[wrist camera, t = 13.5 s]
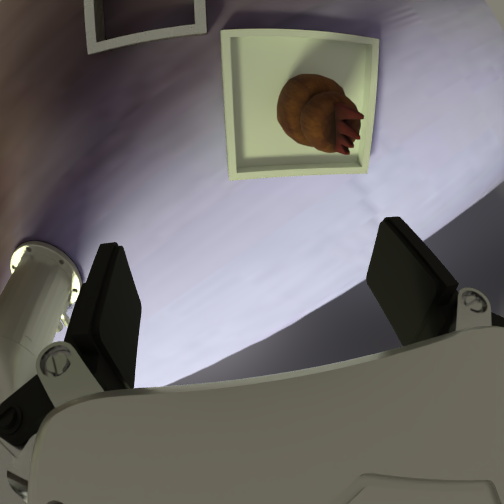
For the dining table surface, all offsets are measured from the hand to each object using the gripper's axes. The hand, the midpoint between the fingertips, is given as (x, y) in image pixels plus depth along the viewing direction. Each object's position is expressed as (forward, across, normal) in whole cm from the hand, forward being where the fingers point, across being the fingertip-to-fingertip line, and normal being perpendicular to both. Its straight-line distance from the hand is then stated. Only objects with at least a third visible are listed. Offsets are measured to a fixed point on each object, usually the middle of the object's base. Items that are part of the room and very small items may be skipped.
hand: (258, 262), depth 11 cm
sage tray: (+25, -9, -2) cm, 26 cm away
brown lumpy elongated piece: (+24, -8, -2) cm, 25 cm away
